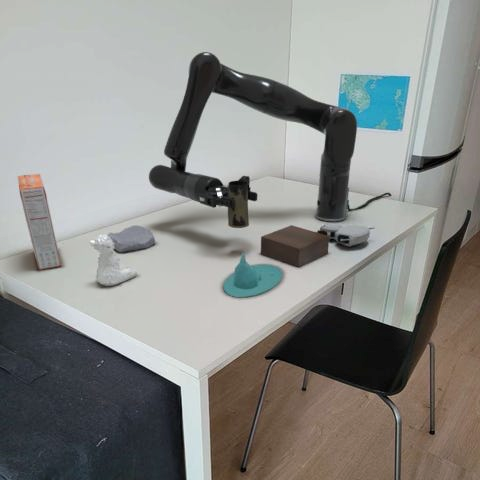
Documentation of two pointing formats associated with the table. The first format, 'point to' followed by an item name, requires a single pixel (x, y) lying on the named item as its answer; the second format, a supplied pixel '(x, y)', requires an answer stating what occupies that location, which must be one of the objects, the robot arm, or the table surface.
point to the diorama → (251, 279)
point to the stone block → (132, 238)
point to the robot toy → (346, 233)
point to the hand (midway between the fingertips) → (245, 200)
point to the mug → (239, 202)
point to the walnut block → (294, 245)
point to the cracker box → (39, 221)
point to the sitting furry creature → (109, 263)
